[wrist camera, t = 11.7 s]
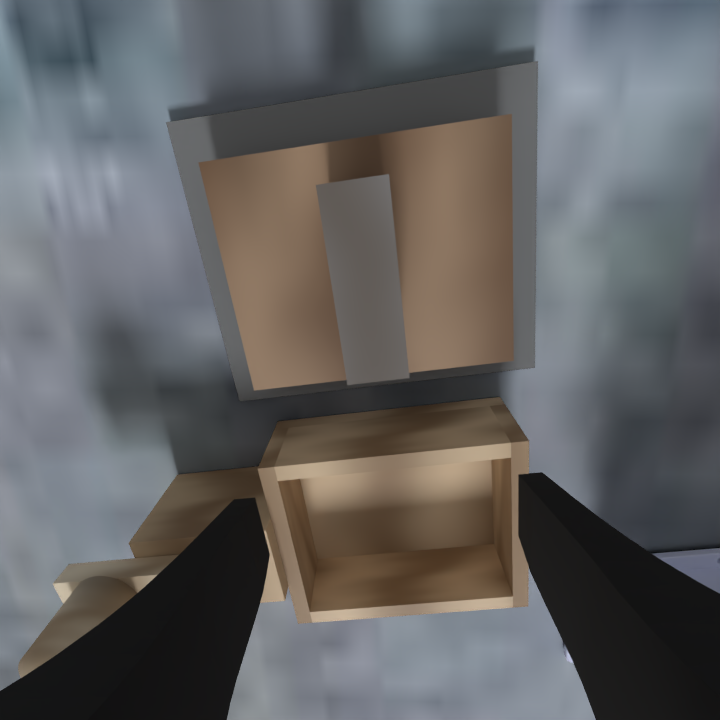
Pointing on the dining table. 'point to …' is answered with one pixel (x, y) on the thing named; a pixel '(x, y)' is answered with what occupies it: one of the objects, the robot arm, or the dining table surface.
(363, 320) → the lid
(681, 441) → the dining table surface
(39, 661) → the beige piece
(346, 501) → the open wooden box
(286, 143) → the mat
